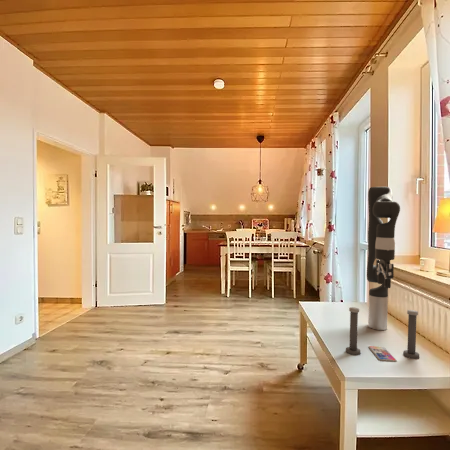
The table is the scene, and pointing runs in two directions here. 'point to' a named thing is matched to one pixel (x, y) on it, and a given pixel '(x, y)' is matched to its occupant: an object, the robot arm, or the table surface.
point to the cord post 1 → (353, 332)
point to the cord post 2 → (411, 335)
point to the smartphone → (382, 354)
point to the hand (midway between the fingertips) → (383, 285)
